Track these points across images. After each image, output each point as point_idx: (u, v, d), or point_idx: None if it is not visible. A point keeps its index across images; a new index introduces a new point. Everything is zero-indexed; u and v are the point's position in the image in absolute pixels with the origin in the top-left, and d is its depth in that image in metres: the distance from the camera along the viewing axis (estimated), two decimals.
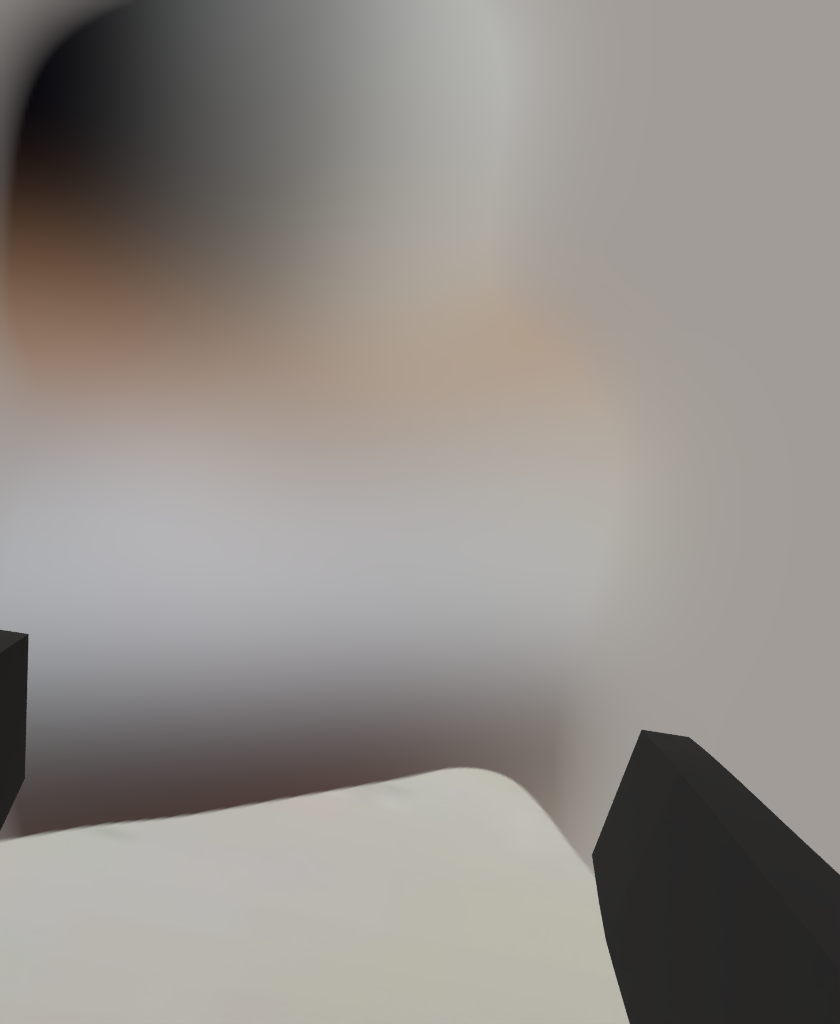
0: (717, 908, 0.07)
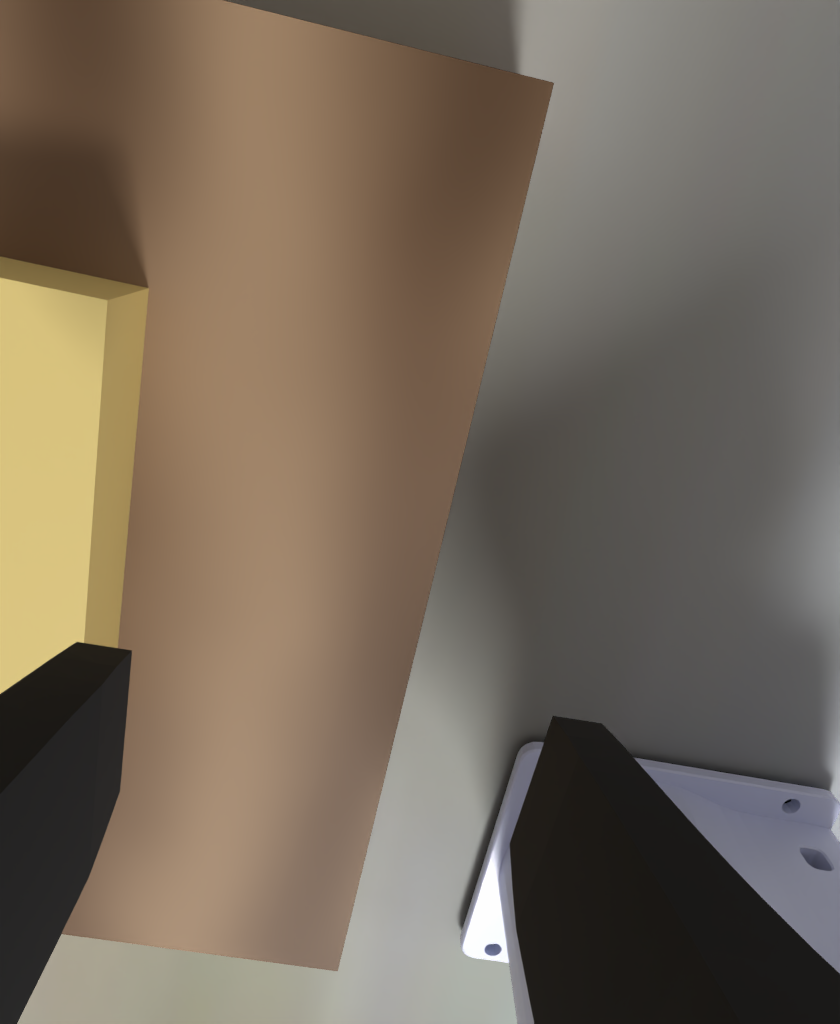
0: (605, 893, 0.07)
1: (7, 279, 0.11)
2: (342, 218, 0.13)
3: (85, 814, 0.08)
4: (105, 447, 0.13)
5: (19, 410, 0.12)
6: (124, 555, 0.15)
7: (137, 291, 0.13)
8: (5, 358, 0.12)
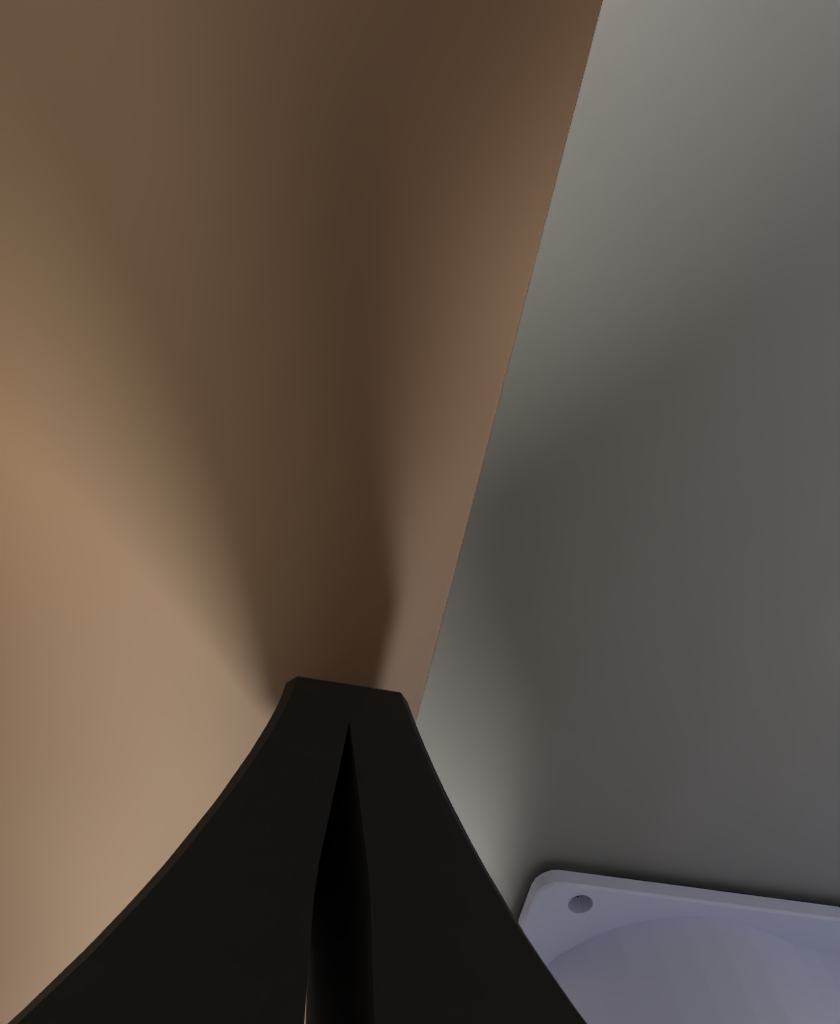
0: (344, 860, 0.07)
1: None
2: (250, 139, 0.07)
3: None
4: None
5: None
6: None
7: None
8: None
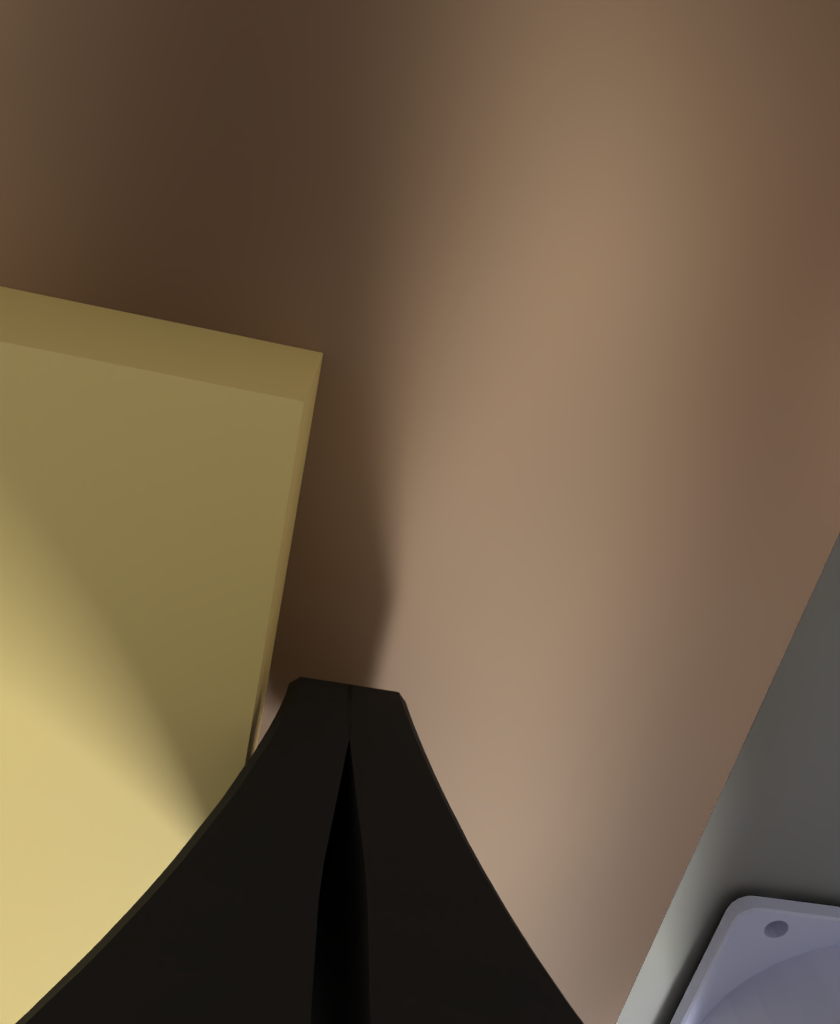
0: (342, 859, 0.07)
1: (122, 365, 0.06)
2: (683, 244, 0.08)
3: None
4: (269, 629, 0.08)
5: (133, 584, 0.07)
6: None
7: (317, 364, 0.08)
8: (112, 500, 0.07)
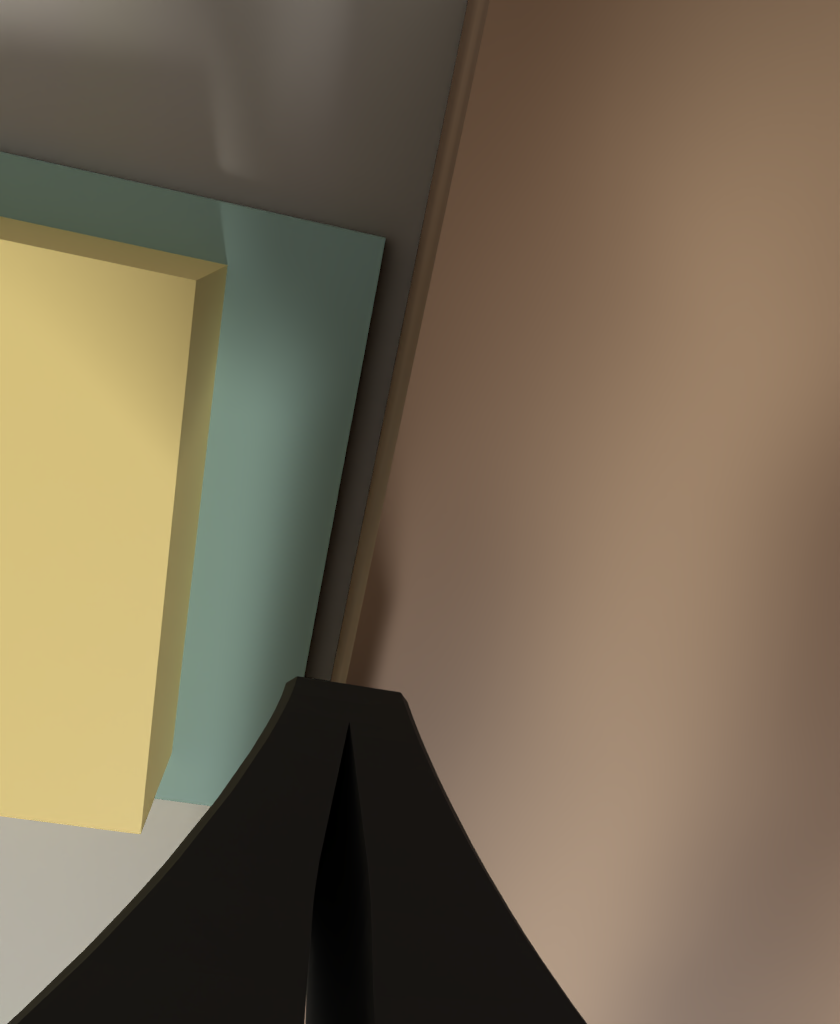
0: (344, 860, 0.07)
1: None
2: None
3: None
4: None
5: None
6: None
7: None
8: None
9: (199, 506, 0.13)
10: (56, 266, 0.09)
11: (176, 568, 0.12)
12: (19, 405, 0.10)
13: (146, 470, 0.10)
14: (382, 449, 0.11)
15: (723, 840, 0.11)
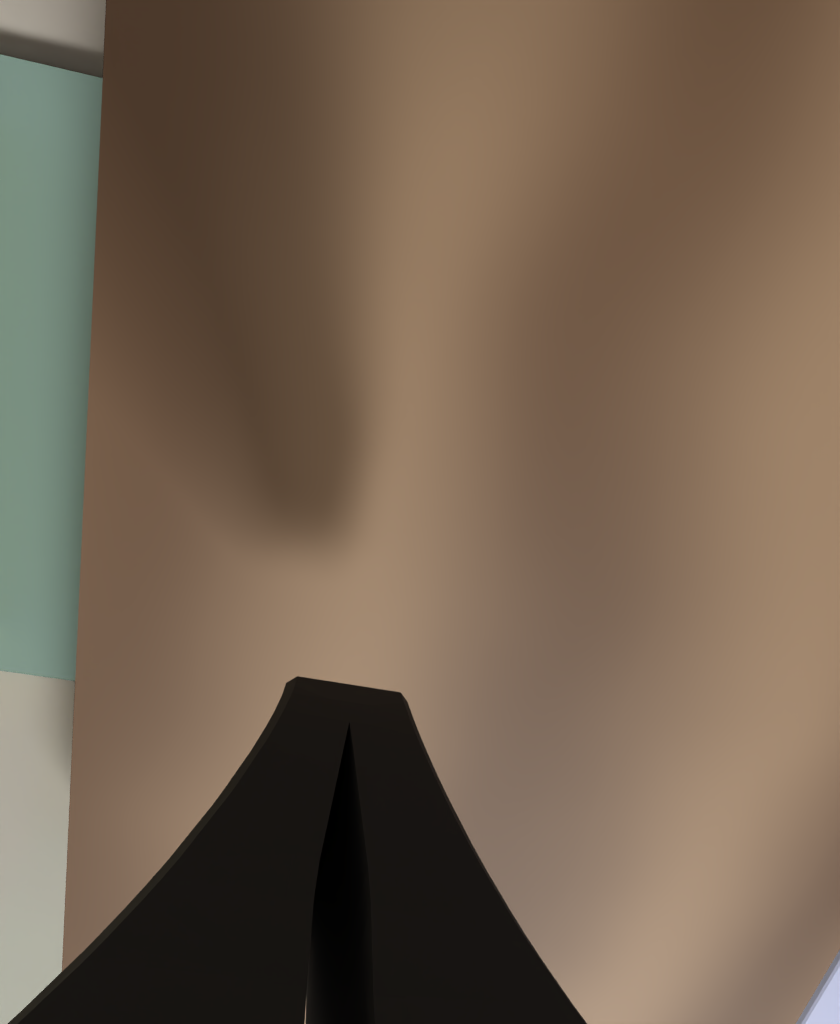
0: (345, 860, 0.07)
1: None
2: None
3: None
4: None
5: None
6: None
7: None
8: None
9: None
10: None
11: None
12: None
13: None
14: None
15: (473, 660, 0.12)
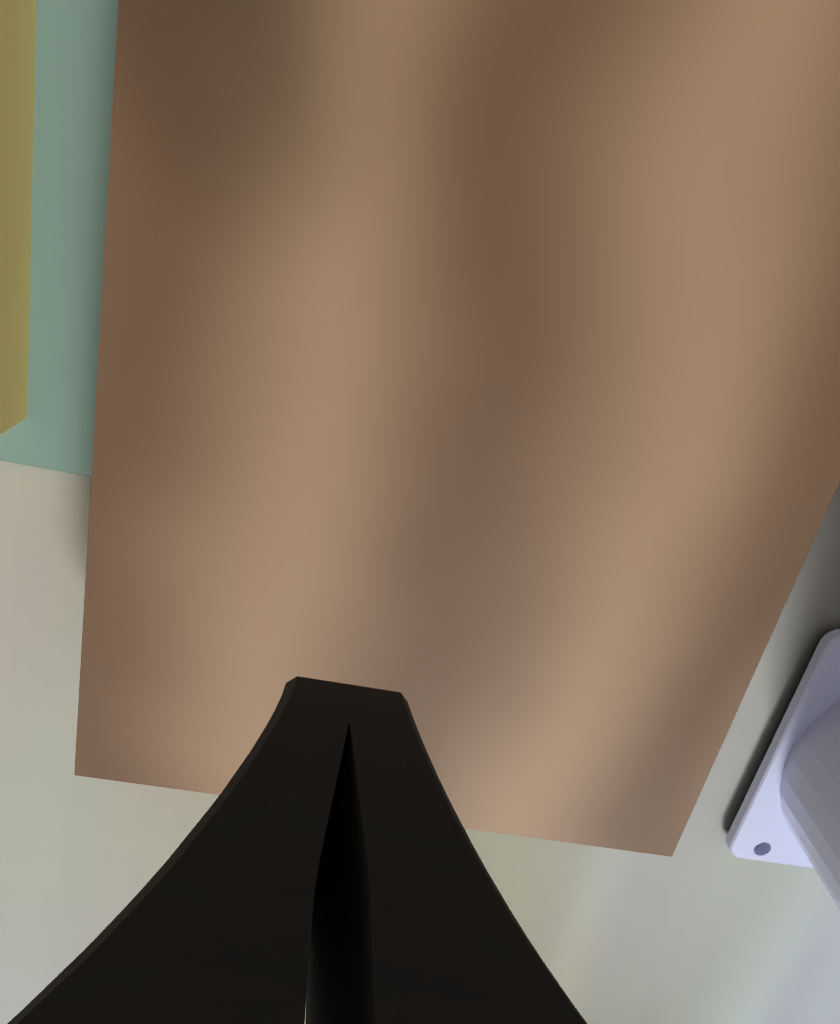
0: (344, 860, 0.07)
1: None
2: None
3: None
4: None
5: None
6: None
7: None
8: None
9: (31, 177, 0.16)
10: None
11: (1, 203, 0.15)
12: None
13: None
14: None
15: (422, 400, 0.14)
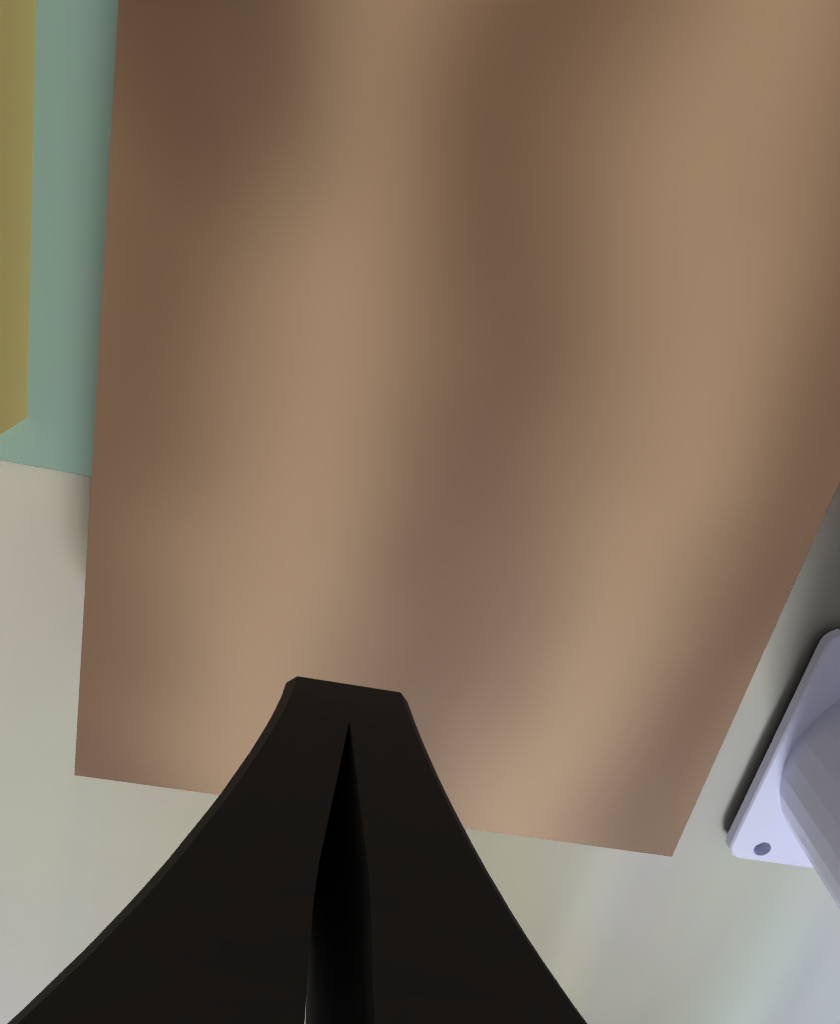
0: (344, 860, 0.07)
1: None
2: None
3: None
4: None
5: None
6: None
7: None
8: None
9: (31, 177, 0.16)
10: None
11: (1, 203, 0.15)
12: None
13: None
14: None
15: (422, 400, 0.14)
